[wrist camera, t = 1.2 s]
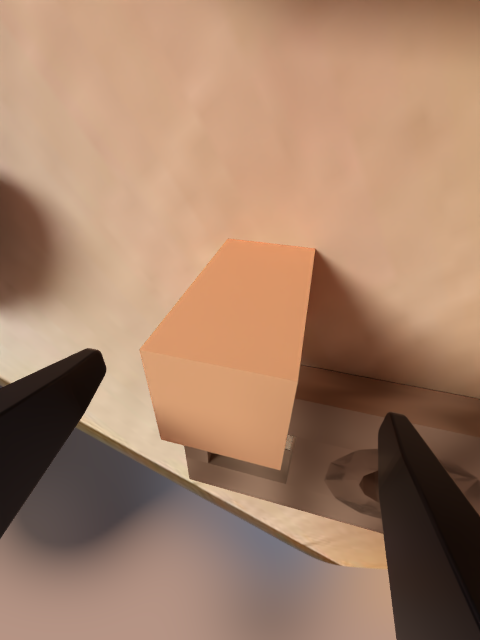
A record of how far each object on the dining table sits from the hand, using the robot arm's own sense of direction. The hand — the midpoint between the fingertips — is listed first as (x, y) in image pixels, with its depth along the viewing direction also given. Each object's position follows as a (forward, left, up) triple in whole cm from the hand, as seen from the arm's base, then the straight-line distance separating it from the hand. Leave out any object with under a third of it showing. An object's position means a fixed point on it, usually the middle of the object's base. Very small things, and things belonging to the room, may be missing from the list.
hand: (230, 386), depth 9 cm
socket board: (-4, +11, -7) cm, 14 cm away
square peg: (0, 0, -7) cm, 7 cm away
